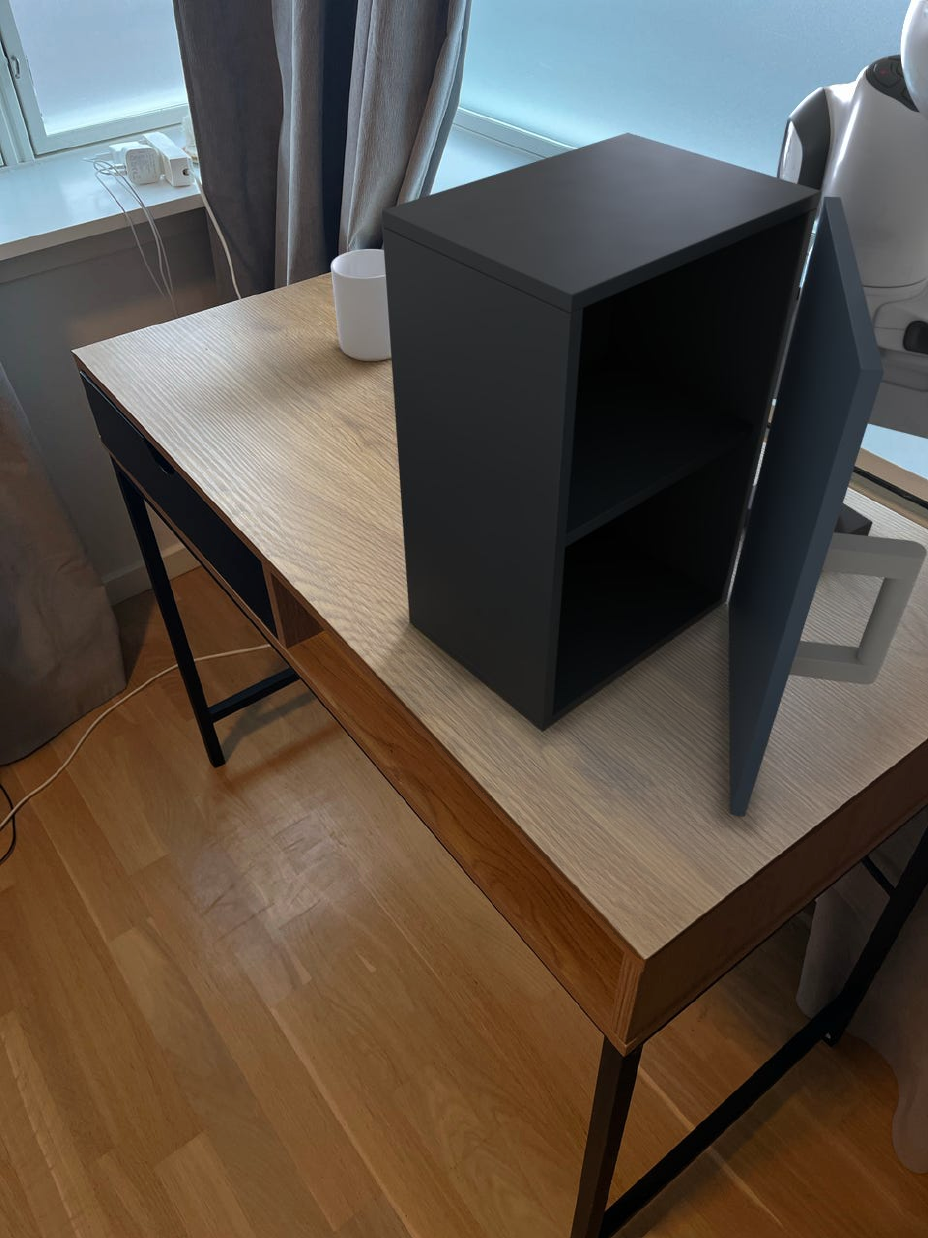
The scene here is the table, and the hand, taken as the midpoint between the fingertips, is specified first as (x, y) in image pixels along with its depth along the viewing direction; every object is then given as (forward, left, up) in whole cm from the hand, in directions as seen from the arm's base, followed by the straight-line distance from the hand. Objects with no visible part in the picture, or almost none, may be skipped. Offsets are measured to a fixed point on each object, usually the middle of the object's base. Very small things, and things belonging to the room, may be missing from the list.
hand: (816, 451), depth 84 cm
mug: (+53, -22, -8) cm, 58 cm away
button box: (0, 0, -8) cm, 8 cm away
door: (-1, +23, -8) cm, 25 cm away
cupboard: (+17, +18, -8) cm, 26 cm away
